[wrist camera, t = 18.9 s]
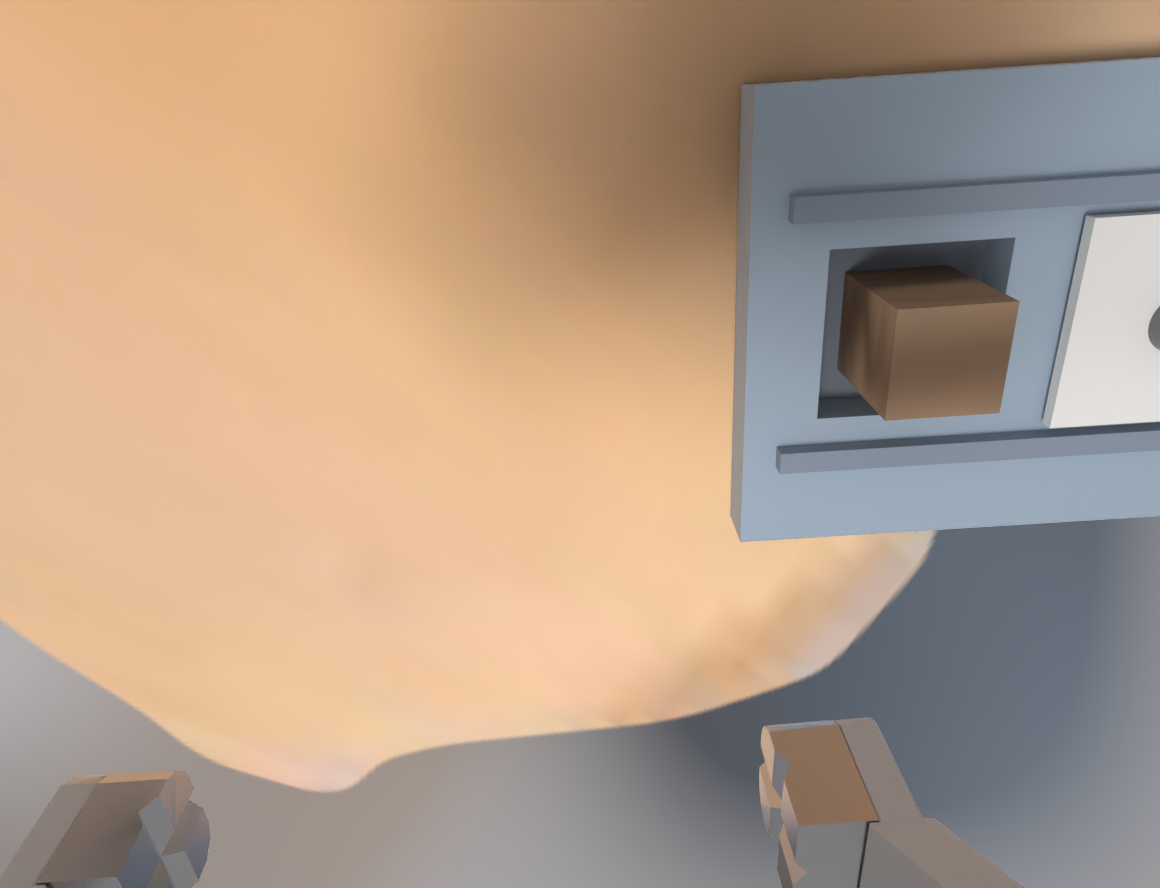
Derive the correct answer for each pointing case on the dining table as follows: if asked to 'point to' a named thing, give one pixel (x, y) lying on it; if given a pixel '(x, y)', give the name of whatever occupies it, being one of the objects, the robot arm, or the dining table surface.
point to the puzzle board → (917, 239)
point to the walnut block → (925, 341)
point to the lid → (1110, 327)
